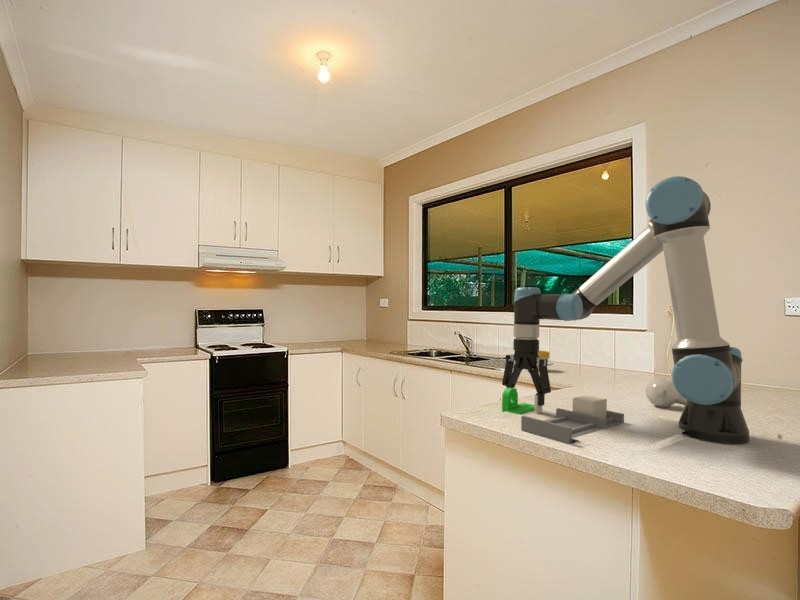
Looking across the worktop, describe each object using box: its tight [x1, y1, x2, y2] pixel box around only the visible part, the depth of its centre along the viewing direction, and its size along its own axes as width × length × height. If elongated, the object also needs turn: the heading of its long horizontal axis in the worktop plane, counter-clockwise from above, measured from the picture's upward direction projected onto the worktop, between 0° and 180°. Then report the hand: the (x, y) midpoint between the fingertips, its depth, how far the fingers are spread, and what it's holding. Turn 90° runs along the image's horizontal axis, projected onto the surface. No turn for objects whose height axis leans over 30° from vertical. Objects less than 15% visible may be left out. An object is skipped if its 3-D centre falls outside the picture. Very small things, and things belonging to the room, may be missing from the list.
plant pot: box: [537, 350, 550, 373], centre depth 226 cm, size 10×10×10 cm
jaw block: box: [572, 395, 608, 419], centre depth 126 cm, size 6×7×6 cm
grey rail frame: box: [520, 407, 625, 445], centre depth 122 cm, size 14×26×4 cm, turn 127°
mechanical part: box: [501, 387, 535, 415], centre depth 139 cm, size 12×6×8 cm, turn 135°
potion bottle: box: [645, 378, 687, 409], centre depth 149 cm, size 9×10×15 cm
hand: (525, 412), depth 138 cm, fingers open, 9 cm apart
